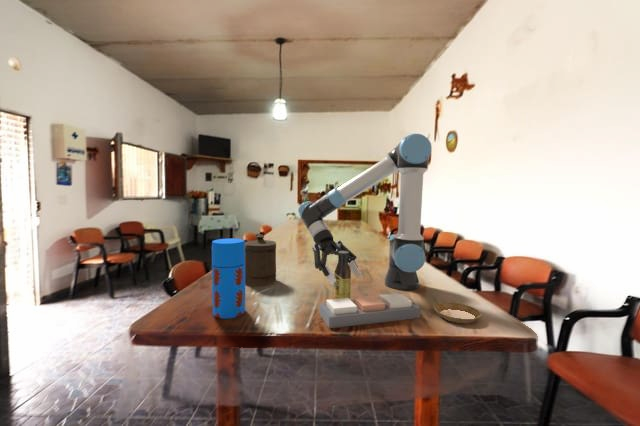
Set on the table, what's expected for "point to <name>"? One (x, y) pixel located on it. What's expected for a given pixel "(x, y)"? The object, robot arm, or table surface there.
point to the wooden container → (260, 262)
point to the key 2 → (395, 301)
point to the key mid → (369, 303)
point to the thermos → (228, 278)
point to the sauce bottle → (342, 277)
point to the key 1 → (341, 306)
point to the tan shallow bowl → (456, 306)
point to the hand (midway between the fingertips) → (347, 279)
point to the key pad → (367, 316)
